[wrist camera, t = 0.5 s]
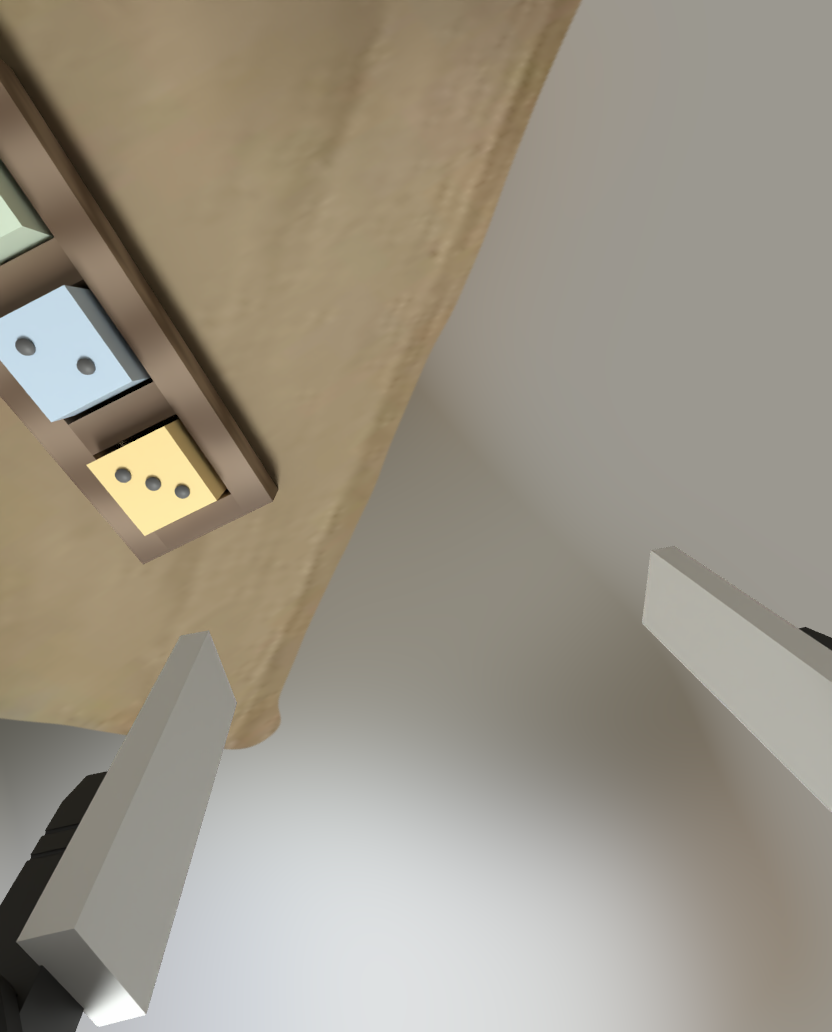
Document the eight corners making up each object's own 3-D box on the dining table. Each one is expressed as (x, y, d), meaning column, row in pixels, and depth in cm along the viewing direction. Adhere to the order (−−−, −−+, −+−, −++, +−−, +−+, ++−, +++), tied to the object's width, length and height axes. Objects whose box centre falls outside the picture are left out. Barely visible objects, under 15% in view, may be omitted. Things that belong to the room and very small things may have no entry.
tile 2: (10, 331, 30) (-27, 330, 27) (90, 289, 29) (62, 284, 26) (76, 414, 32) (49, 422, 29) (151, 377, 32) (131, 381, 29)
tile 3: (107, 454, 33) (84, 465, 30) (179, 418, 33) (162, 426, 30) (160, 520, 36) (143, 537, 33) (227, 487, 36) (216, 501, 33)
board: (-160, 160, 27) (-217, 140, 24) (10, 67, 26) (-29, 36, 24) (157, 548, 39) (143, 564, 36) (278, 489, 38) (272, 501, 36)
